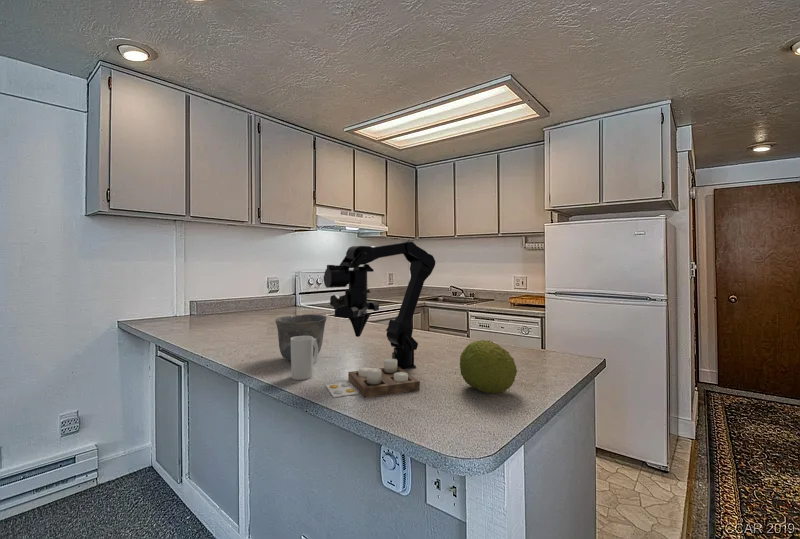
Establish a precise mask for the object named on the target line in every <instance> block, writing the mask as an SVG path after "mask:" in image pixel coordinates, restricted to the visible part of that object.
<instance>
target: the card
mask: <svg viewBox="0 0 800 539" xmlns="http://www.w3.org/2000/svg"><path fill="white" fill-rule="evenodd" d="M325 387H326V389H327V390H328V392H329V393H330V395H331V397H332V398H334V399H335V398H340V397H341V398H342V396H343V397H348V396H355V395H356V396H357V395H360V392H359V391H358V390H357V389H356V388H355V387H354V386H353V384H352V383H351V382H350V381H348V382H339V383H331V384H330V383H329V384H325Z"/></svg>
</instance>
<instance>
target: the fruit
mask: <svg viewBox="0 0 800 539" xmlns="http://www.w3.org/2000/svg"><path fill="white" fill-rule="evenodd" d="M464 348H465V349H463V350H462V352H461V354H460V355H459V357H460V358H459V369H460V375H461V377H462V379H463V380H464V382H465V383H466V384H467V385H469V387H471V388H473V389H476V390H479V391H480V392H483V393H488V394H501V393H503V392H506V391H507V390H508V389H510V388H511V387H512V386H513V384H514V382H515V381H516V380H515V379H516V376H517V374H518V369H517V364H516V362H515V359H514V357H512V355H511V354H510V352H509V351H508V350H505V348H502V346H500V344H498V343H495V342H494V341H492V340H491V341H490V340H485V339H480V340H476V341H472V342H470V343H468V345H467V346H466V347H464Z"/></svg>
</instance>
